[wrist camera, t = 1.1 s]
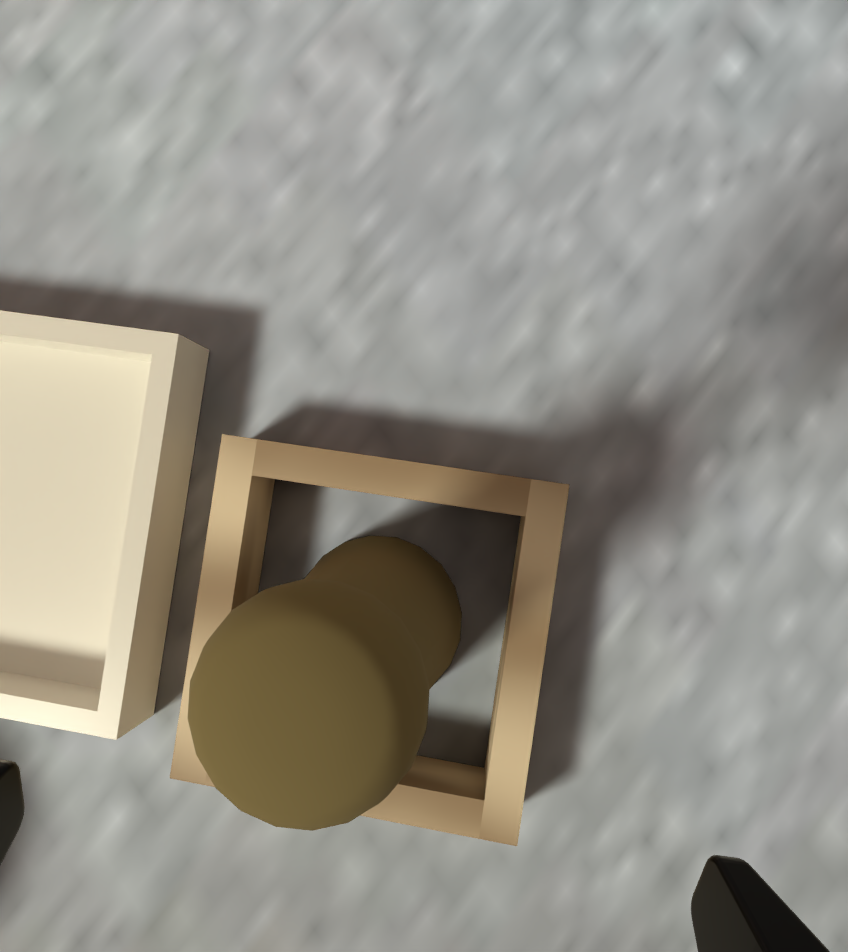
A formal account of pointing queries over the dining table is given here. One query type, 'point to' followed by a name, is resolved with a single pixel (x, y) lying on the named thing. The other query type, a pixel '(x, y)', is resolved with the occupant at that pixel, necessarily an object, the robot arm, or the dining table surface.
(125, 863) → the dining table surface
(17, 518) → the plastic tray
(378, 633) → the cork
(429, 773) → the wooden holder
